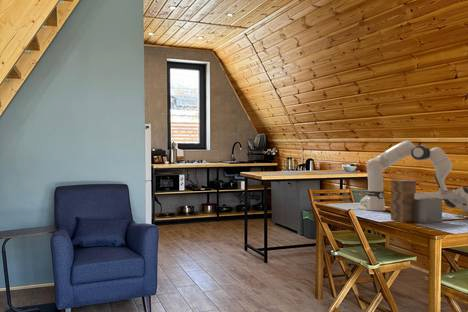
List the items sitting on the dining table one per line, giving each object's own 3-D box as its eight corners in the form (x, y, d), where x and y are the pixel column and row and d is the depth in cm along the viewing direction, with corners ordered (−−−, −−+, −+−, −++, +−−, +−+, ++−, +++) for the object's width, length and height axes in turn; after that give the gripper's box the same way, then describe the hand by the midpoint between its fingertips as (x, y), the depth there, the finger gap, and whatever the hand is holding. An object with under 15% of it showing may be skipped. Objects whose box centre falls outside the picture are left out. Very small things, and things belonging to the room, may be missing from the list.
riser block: (413, 221, 281) (413, 198, 281) (428, 219, 287) (429, 196, 287) (426, 224, 272) (426, 199, 271) (441, 222, 278) (442, 198, 277)
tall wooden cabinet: (389, 219, 288) (390, 180, 288) (403, 218, 293) (403, 179, 293) (402, 222, 278) (403, 181, 278) (416, 220, 284) (416, 180, 283)
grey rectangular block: (414, 198, 276) (414, 193, 276) (436, 197, 285) (436, 191, 285) (418, 199, 273) (418, 193, 273) (441, 197, 282) (441, 192, 282)
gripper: (447, 193, 301) (434, 184, 296) (474, 196, 283) (461, 186, 277) (443, 201, 300) (431, 192, 295) (471, 205, 282) (458, 195, 276)
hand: (446, 189), depth 286 cm, fingers open, 8 cm apart
